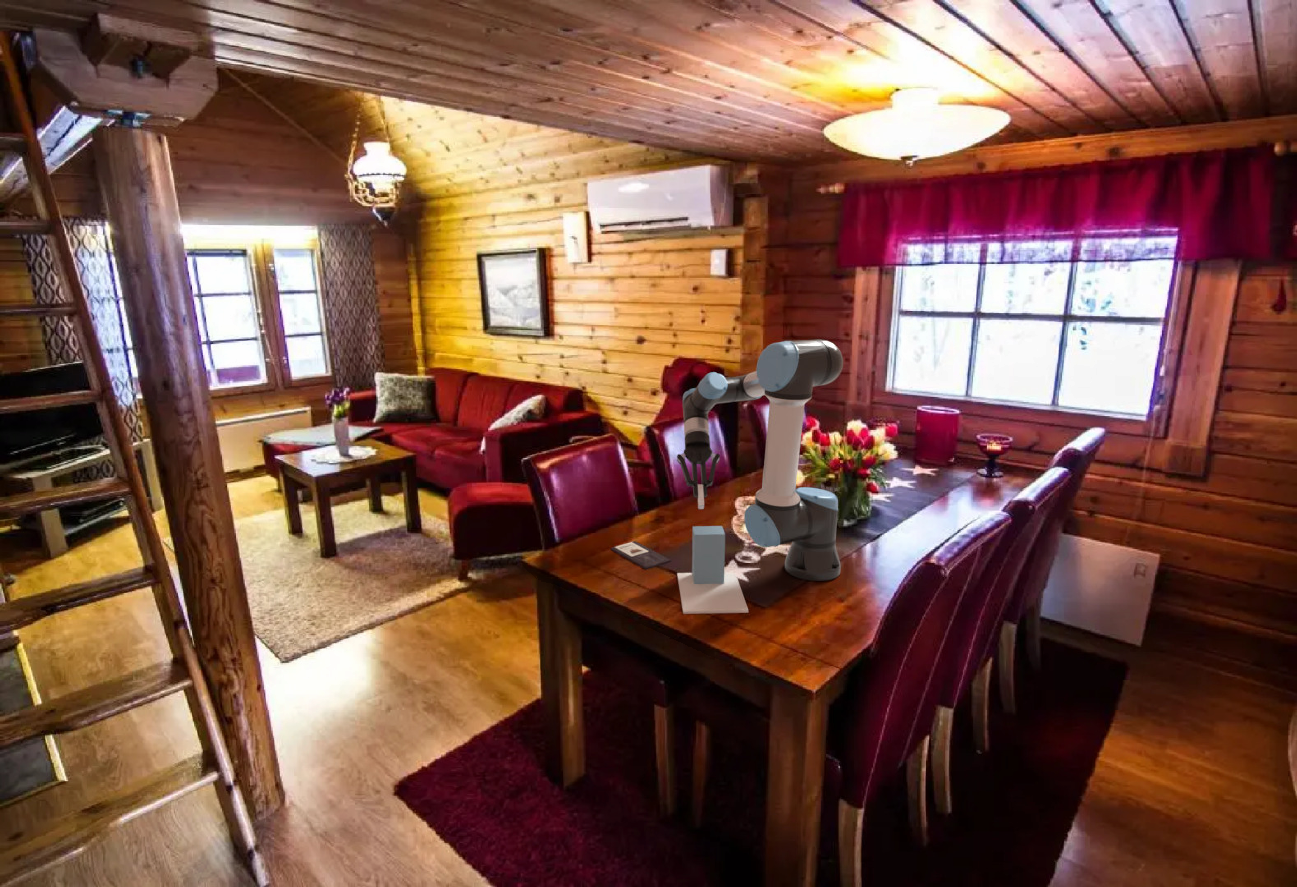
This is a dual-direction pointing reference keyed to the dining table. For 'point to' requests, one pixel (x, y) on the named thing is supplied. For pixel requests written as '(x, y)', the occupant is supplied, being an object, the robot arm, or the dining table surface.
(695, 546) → the blue block
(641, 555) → the chocolate bar
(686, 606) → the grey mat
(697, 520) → the dining table surface
